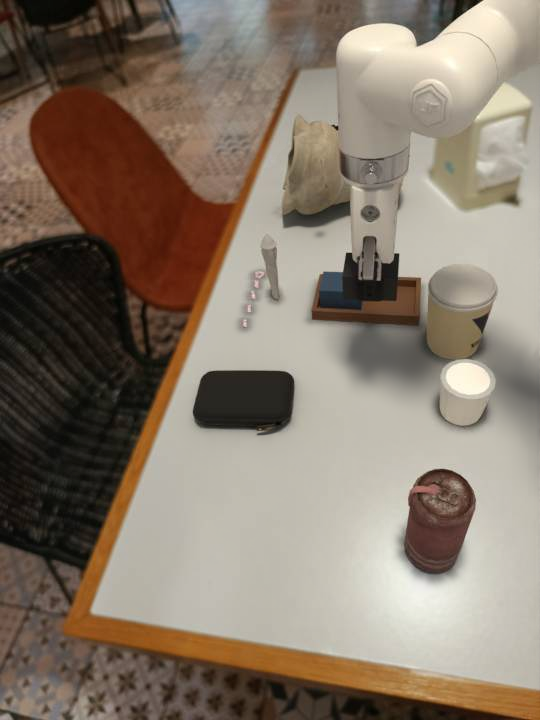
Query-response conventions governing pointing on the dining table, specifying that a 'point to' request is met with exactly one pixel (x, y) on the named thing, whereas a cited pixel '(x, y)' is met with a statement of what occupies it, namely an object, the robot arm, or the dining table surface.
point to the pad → (386, 270)
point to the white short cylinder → (465, 391)
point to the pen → (271, 263)
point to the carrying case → (244, 398)
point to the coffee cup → (458, 309)
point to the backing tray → (378, 307)
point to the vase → (314, 169)
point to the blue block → (335, 293)
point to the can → (438, 519)
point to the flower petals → (253, 294)
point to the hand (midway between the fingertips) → (371, 284)
